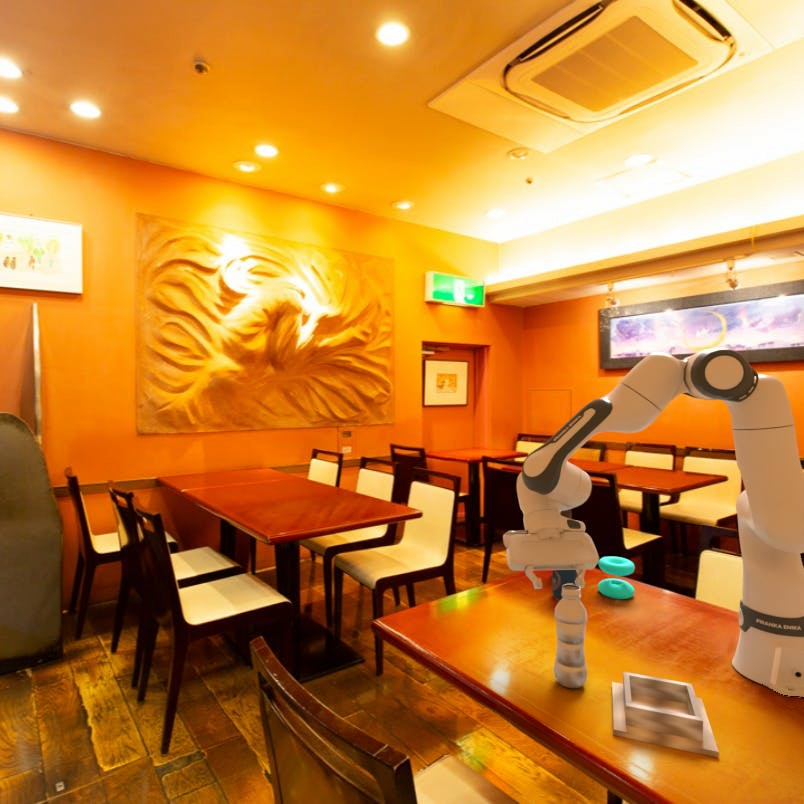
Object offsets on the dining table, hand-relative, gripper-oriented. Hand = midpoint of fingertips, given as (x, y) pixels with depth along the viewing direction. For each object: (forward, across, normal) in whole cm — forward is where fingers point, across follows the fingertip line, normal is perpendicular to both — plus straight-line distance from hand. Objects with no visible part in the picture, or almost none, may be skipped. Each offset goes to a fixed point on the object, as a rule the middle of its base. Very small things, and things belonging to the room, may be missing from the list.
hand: (559, 587), depth 114 cm
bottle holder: (+26, +12, -1) cm, 28 cm away
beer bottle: (-26, +23, +51) cm, 62 cm away
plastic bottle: (+17, 0, +8) cm, 19 cm away
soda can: (-14, +16, +39) cm, 44 cm away
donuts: (-15, +32, +40) cm, 54 cm away
